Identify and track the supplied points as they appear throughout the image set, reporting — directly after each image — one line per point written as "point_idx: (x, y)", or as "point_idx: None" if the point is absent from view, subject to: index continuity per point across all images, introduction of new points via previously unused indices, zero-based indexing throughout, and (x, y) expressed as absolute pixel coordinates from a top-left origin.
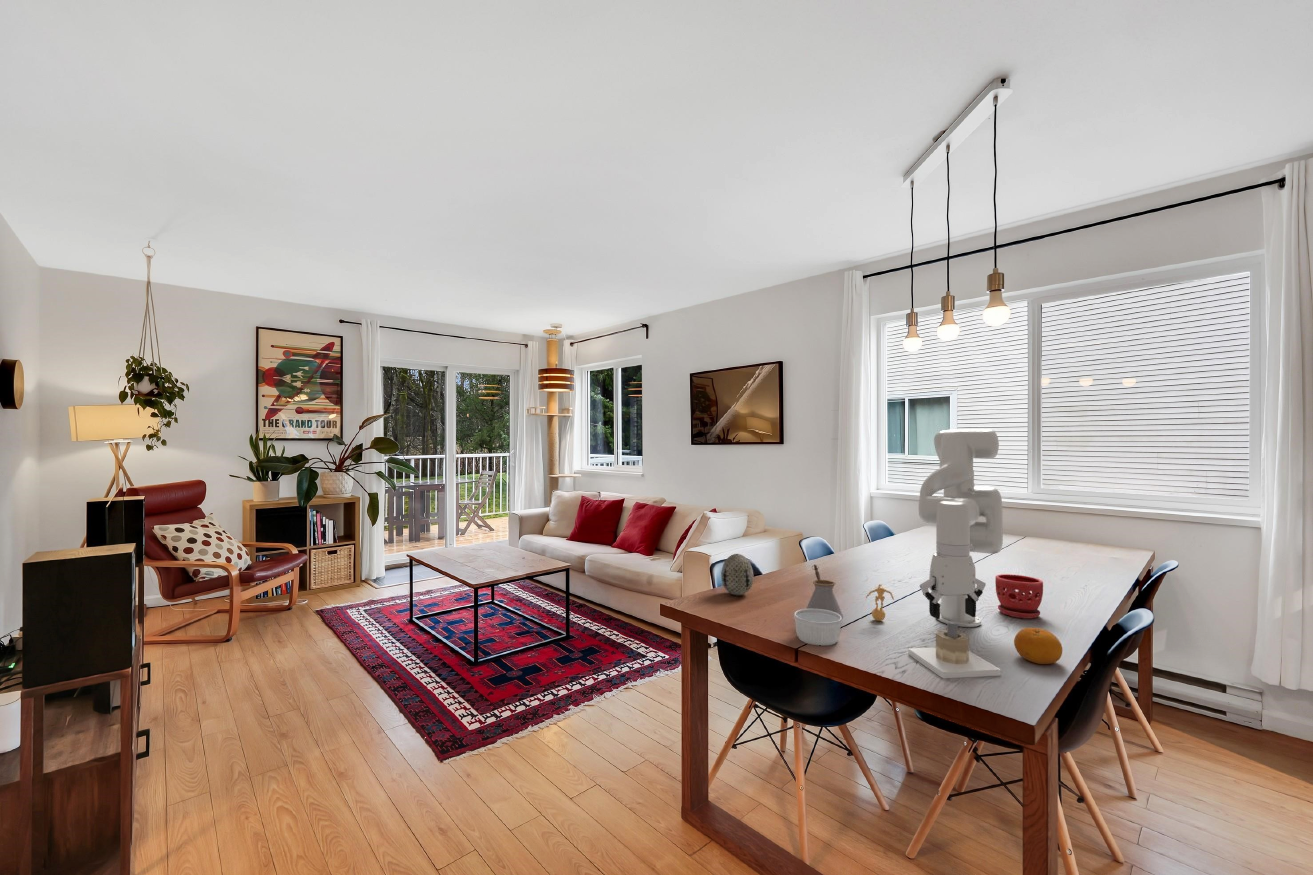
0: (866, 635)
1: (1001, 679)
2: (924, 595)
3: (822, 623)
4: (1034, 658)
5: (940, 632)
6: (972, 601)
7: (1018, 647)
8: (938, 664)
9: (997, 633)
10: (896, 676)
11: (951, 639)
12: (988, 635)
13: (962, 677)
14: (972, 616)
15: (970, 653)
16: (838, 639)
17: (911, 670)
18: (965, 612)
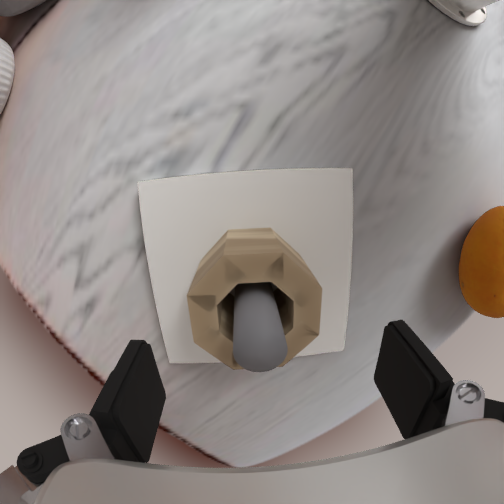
0: (97, 28)
1: (322, 360)
2: (36, 451)
3: None
4: (462, 293)
5: (215, 285)
6: (414, 435)
7: (468, 263)
8: (179, 318)
9: (493, 76)
10: (70, 329)
11: (221, 361)
12: (474, 77)
13: None
14: (374, 377)
15: (343, 237)
16: (2, 106)
17: (109, 303)
18: (386, 329)
